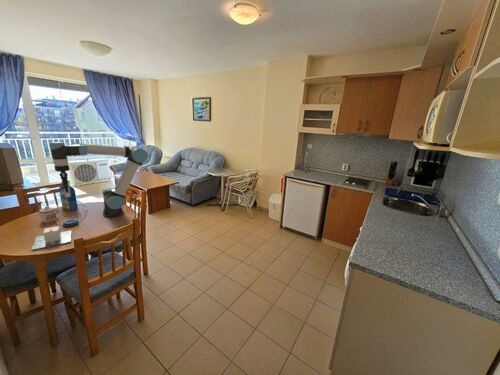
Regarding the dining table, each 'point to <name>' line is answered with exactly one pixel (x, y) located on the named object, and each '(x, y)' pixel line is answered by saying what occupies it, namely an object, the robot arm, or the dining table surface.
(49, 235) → the white box
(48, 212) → the teacup with lid
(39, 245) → the panel
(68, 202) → the blue food package
